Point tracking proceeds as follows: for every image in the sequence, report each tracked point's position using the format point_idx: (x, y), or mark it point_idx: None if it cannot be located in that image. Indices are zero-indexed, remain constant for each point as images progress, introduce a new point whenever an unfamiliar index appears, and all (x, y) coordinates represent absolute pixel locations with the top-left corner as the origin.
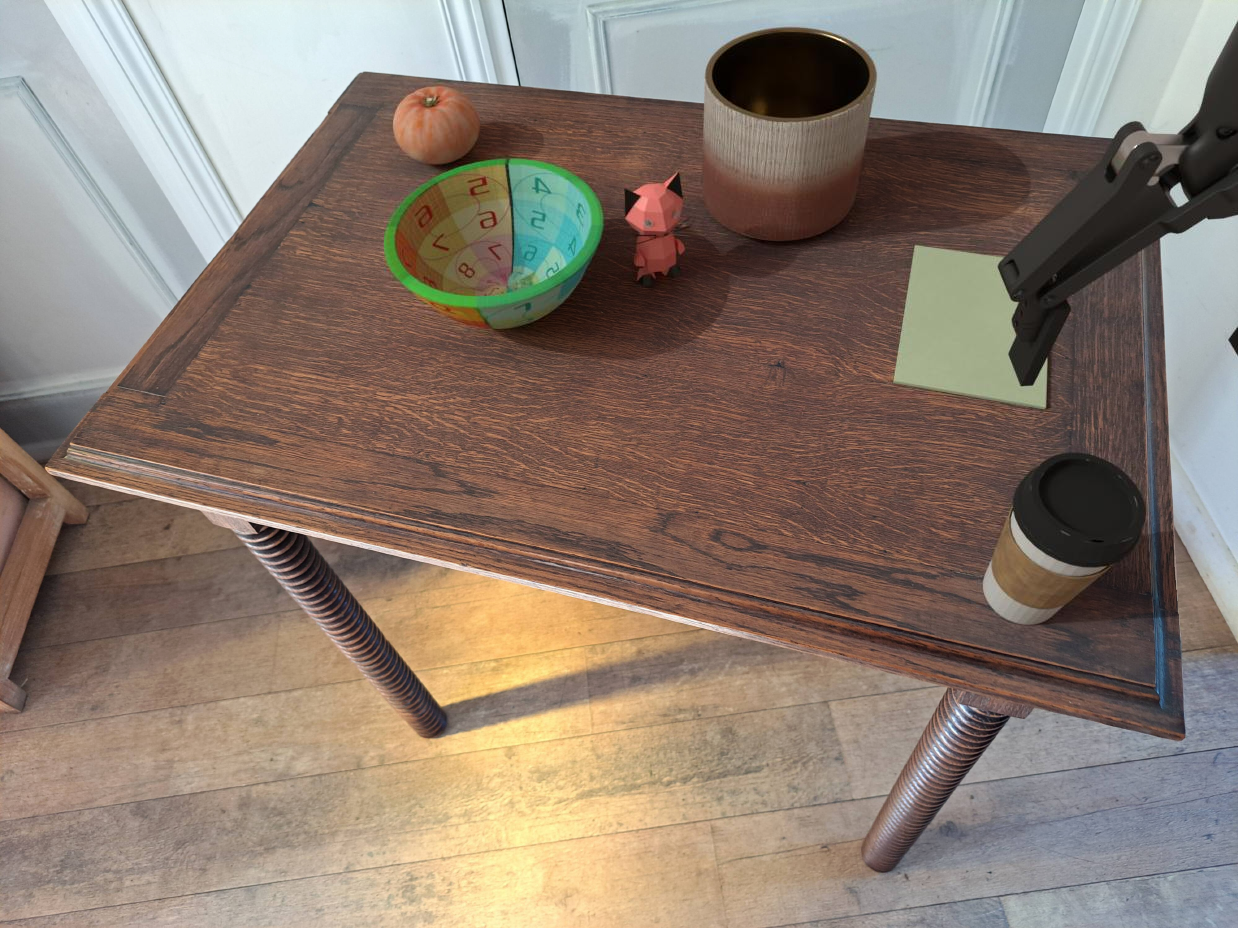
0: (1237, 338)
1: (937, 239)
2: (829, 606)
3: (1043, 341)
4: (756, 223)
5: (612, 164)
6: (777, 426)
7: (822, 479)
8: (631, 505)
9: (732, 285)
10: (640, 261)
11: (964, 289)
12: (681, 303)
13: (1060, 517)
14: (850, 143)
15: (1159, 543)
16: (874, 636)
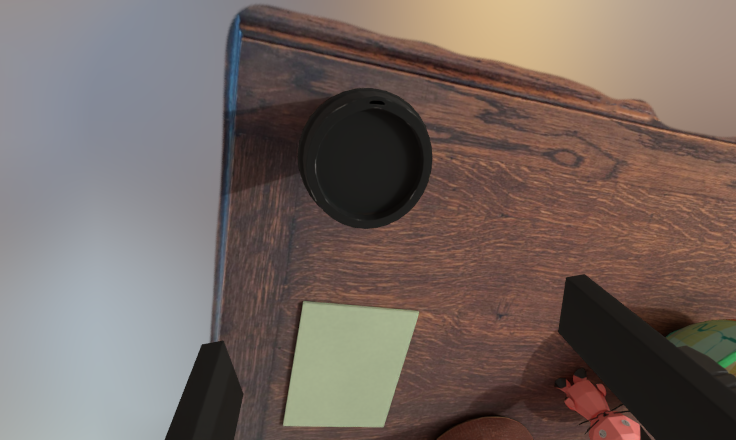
0: (236, 399)
1: (364, 433)
2: (505, 101)
3: (681, 351)
4: (508, 430)
5: None
6: (512, 263)
7: (487, 220)
8: (635, 183)
9: (520, 377)
10: (601, 388)
11: (352, 396)
12: (559, 357)
13: (401, 141)
14: None
15: (222, 185)
16: (474, 74)
